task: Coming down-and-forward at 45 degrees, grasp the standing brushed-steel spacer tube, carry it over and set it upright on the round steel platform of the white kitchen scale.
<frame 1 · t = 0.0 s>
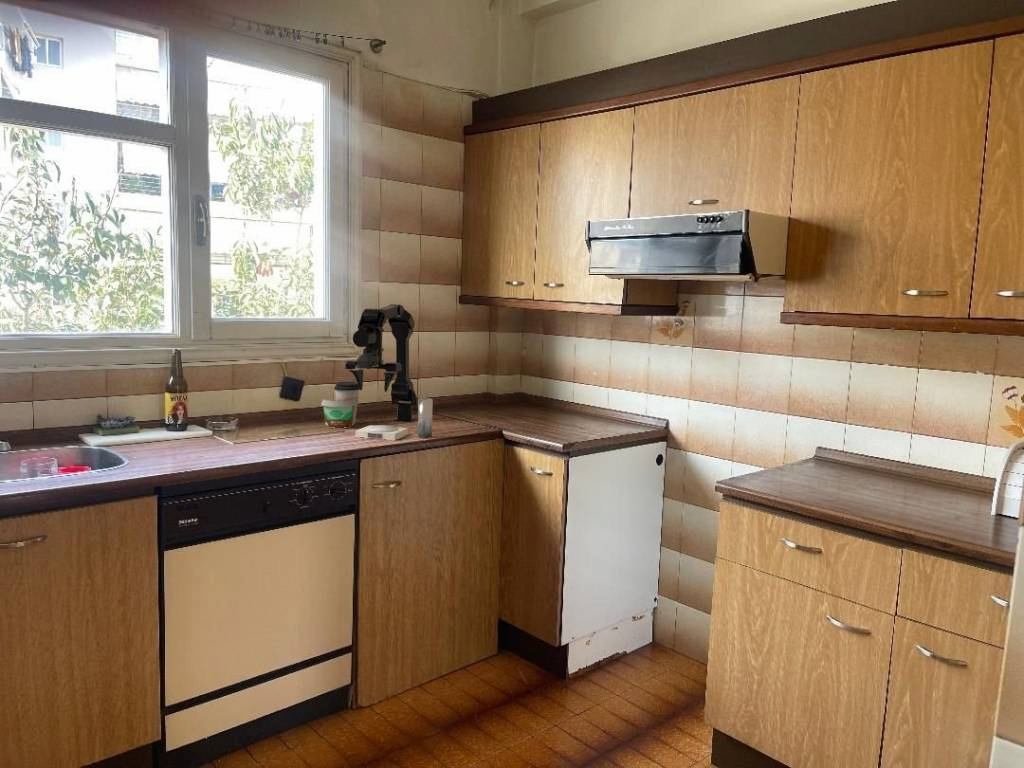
hand: (373, 390, 257), 15 cm above the worktop, tool pointing down, fingers open, 9 cm apart
food container: (339, 428, 266), on the worktop
spacer: (424, 437, 254), on the worktop
coffee cup: (347, 424, 274), on the worktop
scale: (381, 435, 254), on the worktop
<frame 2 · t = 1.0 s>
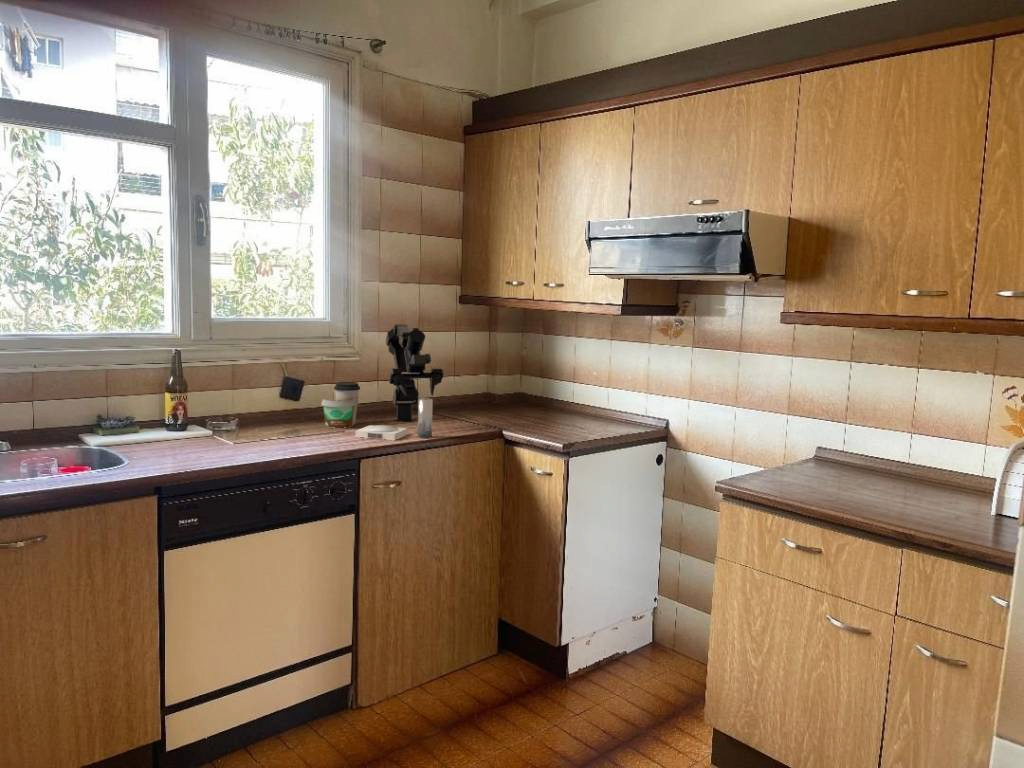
hand: (419, 395, 260), 13 cm above the worktop, tool tilted 45°, fingers open, 9 cm apart
nothing on the worktop moved.
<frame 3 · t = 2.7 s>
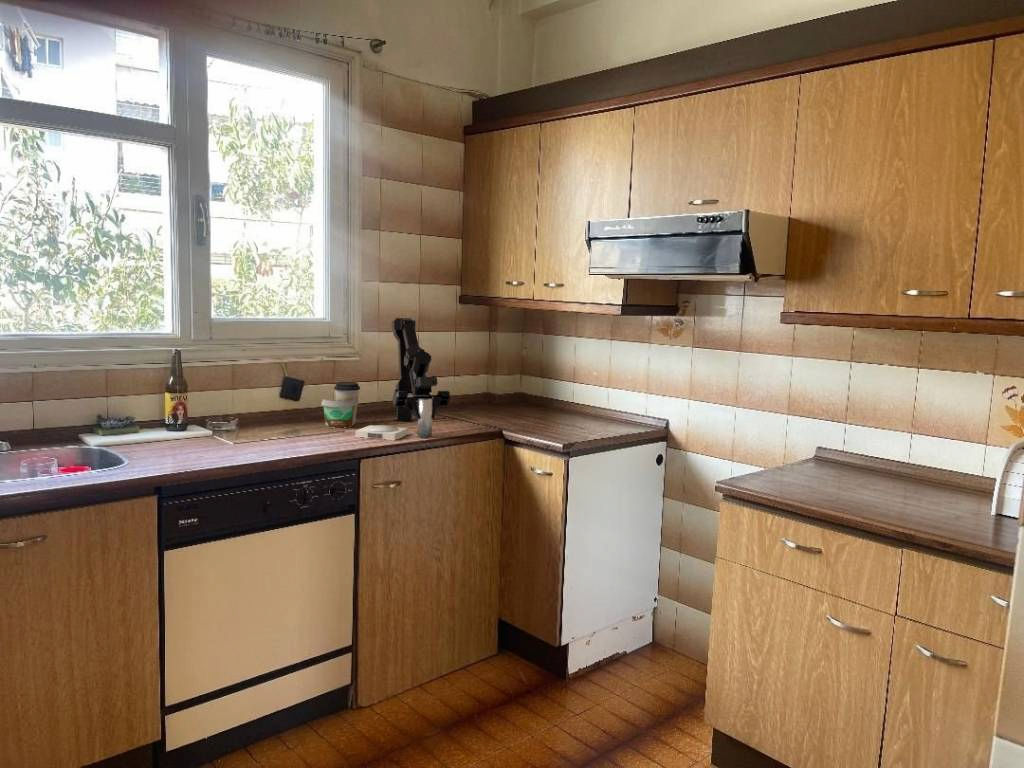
hand: (426, 418, 252), 7 cm above the worktop, tool tilted 45°, fingers closed on spacer, 5 cm apart
spacer: (424, 437, 254), on the worktop, touching gripper
everything else where it was.
when the fingers open (10 cm above the worktop, at t = 7.0 s): spacer stays where it is, resting on scale.
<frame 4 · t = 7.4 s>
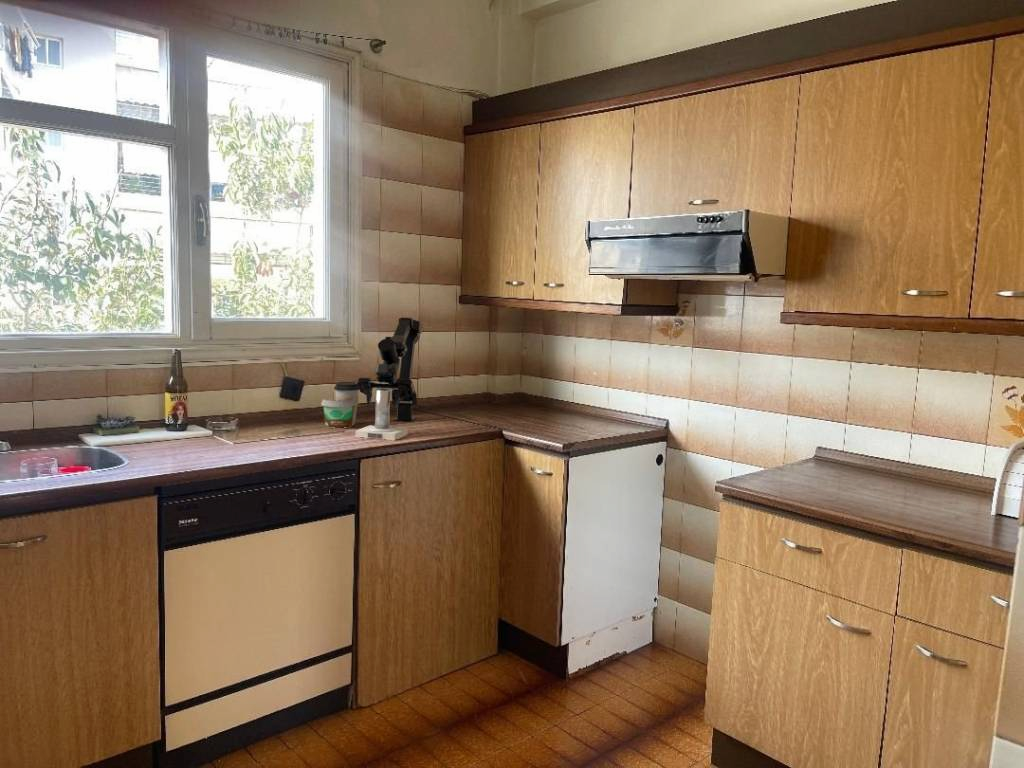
hand: (381, 405, 251), 11 cm above the worktop, tool tilted 45°, fingers open, 9 cm apart
spacer: (382, 427, 254), point 3 cm above the worktop, touching scale
everything else where it was.
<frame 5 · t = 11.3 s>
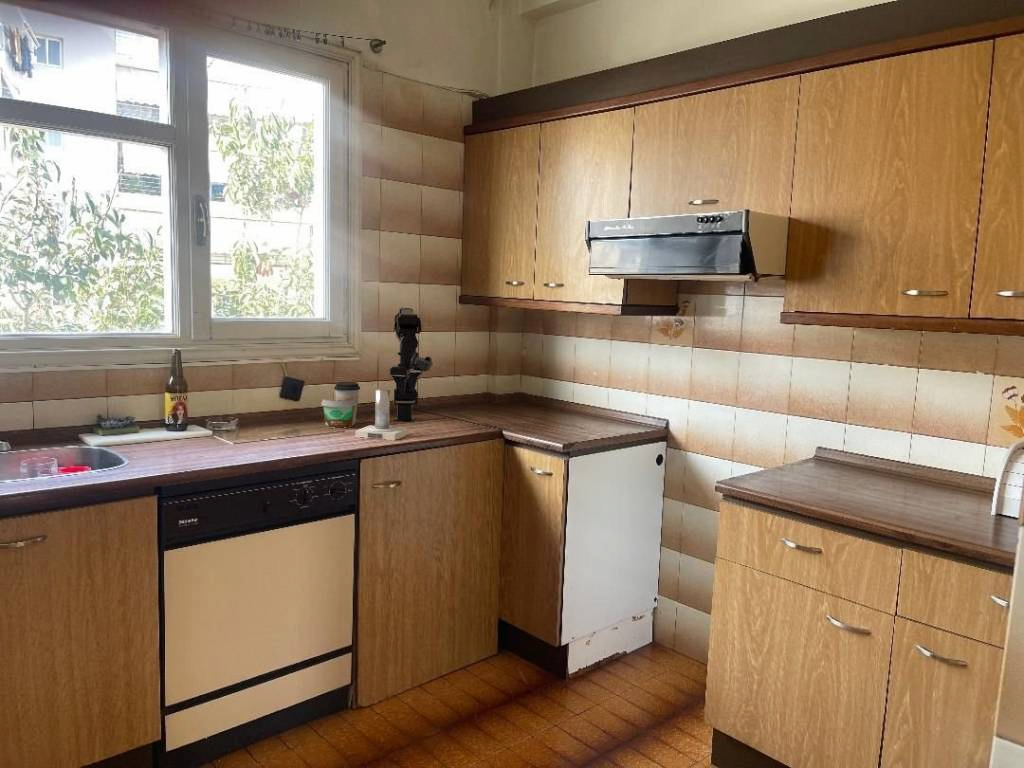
hand: (407, 393, 266), 13 cm above the worktop, tool pointing down, fingers open, 9 cm apart
nothing on the worktop moved.
at the end: spacer inside the target area on the scale (0.2 cm from its centre), point 2.7 cm above the scale's base; spacer tilted 0°; the gripper is holding nothing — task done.
